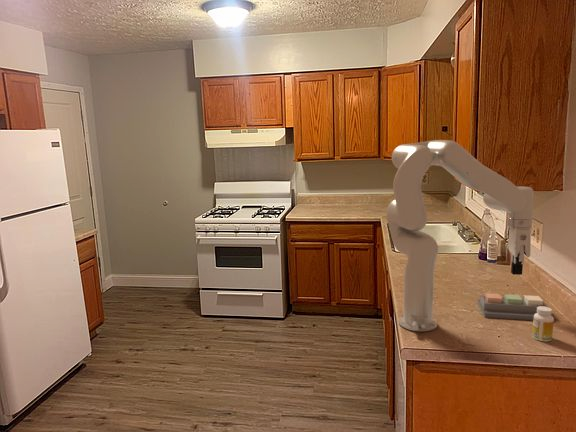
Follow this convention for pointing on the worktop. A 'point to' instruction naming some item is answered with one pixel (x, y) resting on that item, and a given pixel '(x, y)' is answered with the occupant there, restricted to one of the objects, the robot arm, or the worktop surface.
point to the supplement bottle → (543, 324)
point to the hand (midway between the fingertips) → (516, 273)
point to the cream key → (533, 300)
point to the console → (508, 309)
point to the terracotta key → (493, 298)
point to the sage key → (513, 299)
